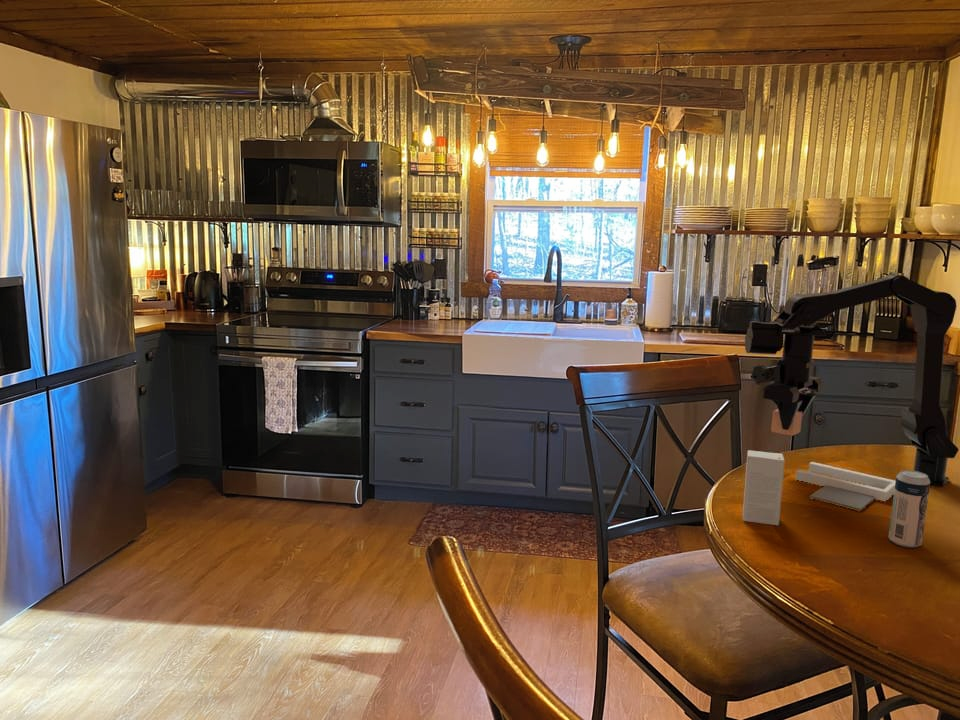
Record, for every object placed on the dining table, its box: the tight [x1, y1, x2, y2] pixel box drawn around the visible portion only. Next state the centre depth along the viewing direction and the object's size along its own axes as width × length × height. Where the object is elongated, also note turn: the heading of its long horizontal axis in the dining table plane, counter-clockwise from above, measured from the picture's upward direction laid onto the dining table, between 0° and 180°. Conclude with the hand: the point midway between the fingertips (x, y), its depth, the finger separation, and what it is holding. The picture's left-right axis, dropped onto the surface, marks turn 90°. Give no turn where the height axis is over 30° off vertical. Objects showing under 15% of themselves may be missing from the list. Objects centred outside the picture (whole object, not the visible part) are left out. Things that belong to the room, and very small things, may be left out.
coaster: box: [809, 485, 875, 510], centre depth 138 cm, size 9×9×1 cm
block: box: [770, 408, 803, 437], centre depth 152 cm, size 4×4×4 cm
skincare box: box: [742, 449, 786, 526], centre depth 126 cm, size 6×4×12 cm
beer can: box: [887, 469, 931, 549], centre depth 117 cm, size 5×5×12 cm
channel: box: [795, 461, 896, 502], centre depth 145 cm, size 9×17×2 cm, turn 46°
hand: (789, 427), depth 152 cm, fingers closed on block, 4 cm apart
